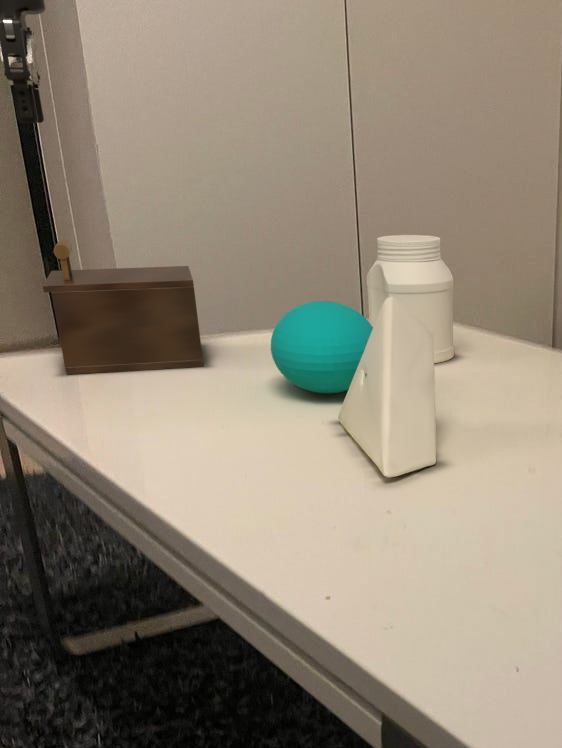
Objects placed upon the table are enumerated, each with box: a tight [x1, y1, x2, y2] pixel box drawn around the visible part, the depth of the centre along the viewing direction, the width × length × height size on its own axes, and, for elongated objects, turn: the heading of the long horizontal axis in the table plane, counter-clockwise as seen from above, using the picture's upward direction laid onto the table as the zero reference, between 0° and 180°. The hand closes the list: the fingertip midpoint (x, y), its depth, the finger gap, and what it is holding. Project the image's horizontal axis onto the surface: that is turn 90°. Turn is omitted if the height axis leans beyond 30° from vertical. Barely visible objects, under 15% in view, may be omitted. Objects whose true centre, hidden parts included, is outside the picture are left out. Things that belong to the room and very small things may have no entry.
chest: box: [50, 285, 205, 376], centre depth 130 cm, size 17×14×10 cm
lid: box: [42, 238, 195, 293], centre depth 127 cm, size 18×14×5 cm
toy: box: [270, 300, 373, 395], centre depth 116 cm, size 18×13×10 cm
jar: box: [366, 234, 455, 364], centre depth 132 cm, size 12×10×15 cm
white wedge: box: [338, 297, 437, 479], centre depth 95 cm, size 15×6×20 cm
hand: (31, 123), depth 121 cm, fingers open, 8 cm apart
